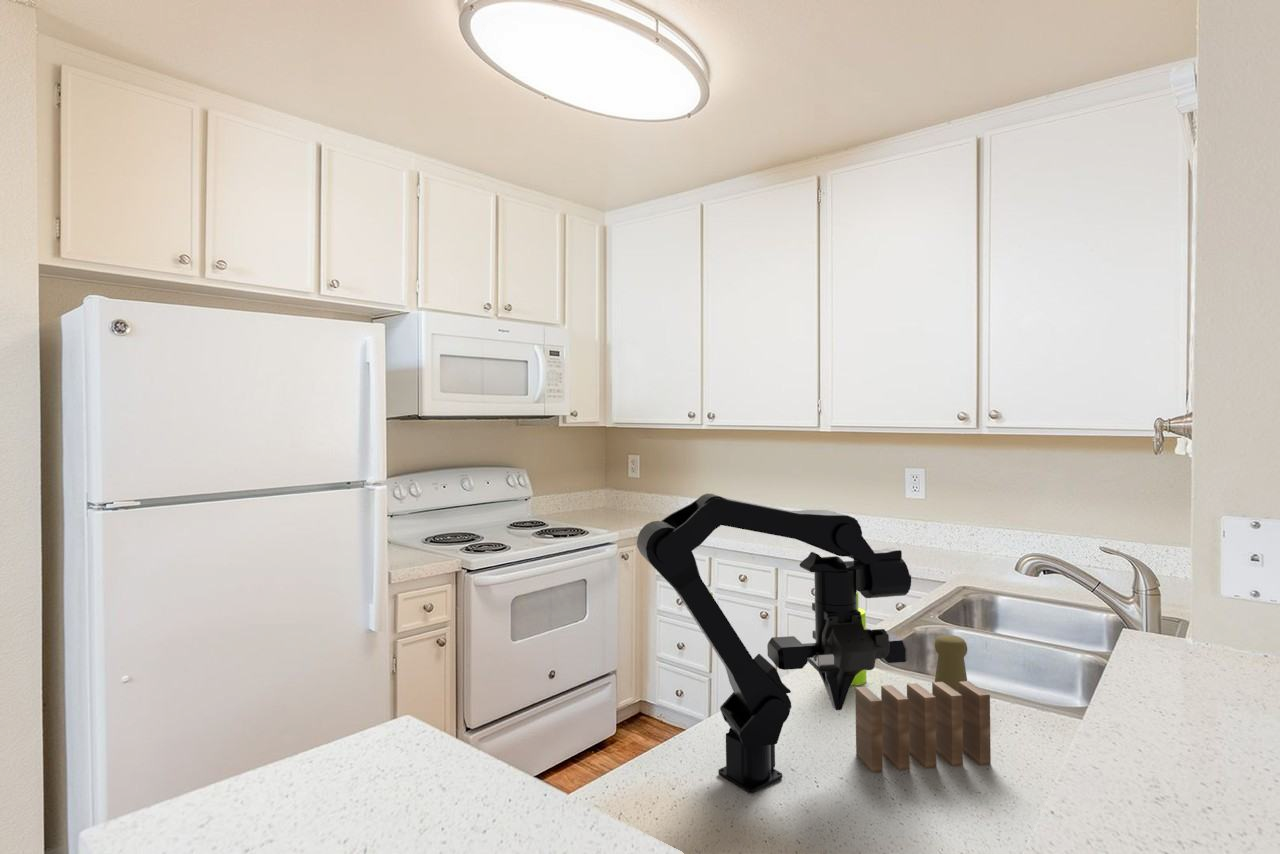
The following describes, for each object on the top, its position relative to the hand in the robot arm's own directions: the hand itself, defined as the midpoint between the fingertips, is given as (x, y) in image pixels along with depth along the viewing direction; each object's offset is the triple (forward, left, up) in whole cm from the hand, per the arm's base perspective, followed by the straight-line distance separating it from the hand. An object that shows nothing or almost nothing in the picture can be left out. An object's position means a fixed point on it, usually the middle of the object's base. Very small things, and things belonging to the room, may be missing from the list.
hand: (837, 709), depth 95 cm
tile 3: (+11, -6, -8) cm, 15 cm away
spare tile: (+18, -11, -8) cm, 22 cm away
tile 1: (+4, -2, -8) cm, 9 cm away
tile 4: (+14, -8, -8) cm, 18 cm away
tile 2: (+7, -4, -8) cm, 12 cm away
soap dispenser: (+28, +18, -8) cm, 34 cm away
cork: (+34, +2, -8) cm, 35 cm away
